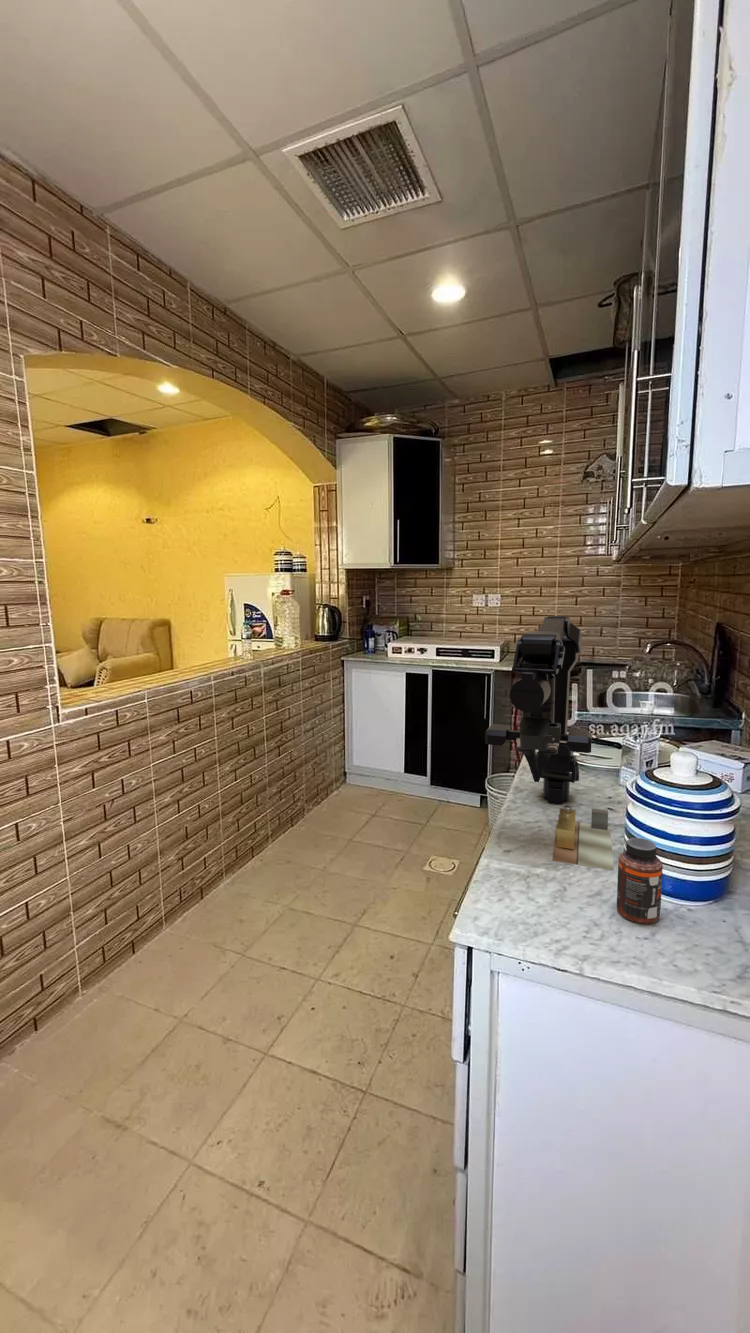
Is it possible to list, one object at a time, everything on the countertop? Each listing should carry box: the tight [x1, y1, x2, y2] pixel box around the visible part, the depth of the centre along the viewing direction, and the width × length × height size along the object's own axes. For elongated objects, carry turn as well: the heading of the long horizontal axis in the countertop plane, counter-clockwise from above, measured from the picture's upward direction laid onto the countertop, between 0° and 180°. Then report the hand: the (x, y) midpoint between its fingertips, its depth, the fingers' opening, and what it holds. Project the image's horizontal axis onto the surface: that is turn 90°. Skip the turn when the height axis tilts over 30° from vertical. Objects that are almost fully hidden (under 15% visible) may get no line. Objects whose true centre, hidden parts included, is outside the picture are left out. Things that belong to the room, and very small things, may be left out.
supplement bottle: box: [616, 837, 664, 924], centre depth 79 cm, size 6×6×11 cm
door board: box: [552, 821, 614, 871], centre depth 100 cm, size 18×10×1 cm, turn 158°
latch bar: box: [556, 805, 577, 849], centre depth 102 cm, size 10×3×4 cm, turn 158°
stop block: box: [590, 808, 609, 830], centre depth 106 cm, size 2×3×4 cm, turn 68°
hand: (536, 781), depth 100 cm, fingers closed
